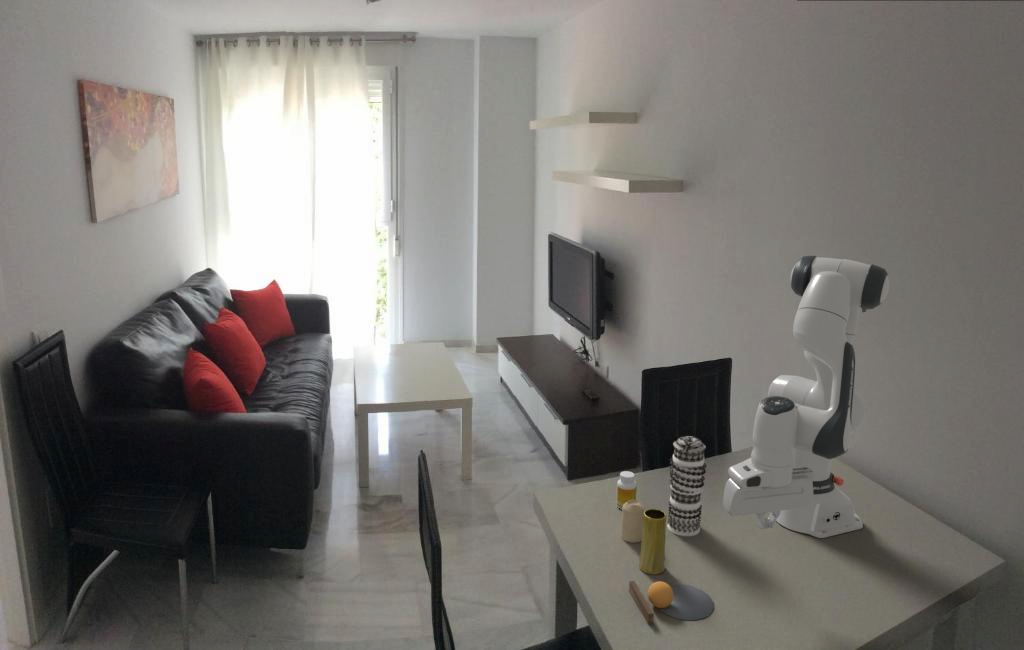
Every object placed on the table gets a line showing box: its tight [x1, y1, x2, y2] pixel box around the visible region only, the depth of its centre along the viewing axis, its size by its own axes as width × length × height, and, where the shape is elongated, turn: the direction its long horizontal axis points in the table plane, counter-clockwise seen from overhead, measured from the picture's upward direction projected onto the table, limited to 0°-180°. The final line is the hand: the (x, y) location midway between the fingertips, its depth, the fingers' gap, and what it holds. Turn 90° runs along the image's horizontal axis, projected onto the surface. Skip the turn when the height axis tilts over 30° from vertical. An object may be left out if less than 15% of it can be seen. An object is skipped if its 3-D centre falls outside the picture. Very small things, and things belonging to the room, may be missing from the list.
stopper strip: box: [628, 580, 655, 625], centre depth 164 cm, size 1×12×2 cm, turn 11°
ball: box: [647, 580, 673, 609], centre depth 164 cm, size 6×6×6 cm
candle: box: [620, 499, 645, 544], centre depth 191 cm, size 6×6×10 cm
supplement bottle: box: [615, 470, 638, 510], centre depth 207 cm, size 5×5×10 cm
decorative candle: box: [666, 435, 707, 537], centre depth 194 cm, size 9×9×25 cm
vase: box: [638, 508, 667, 575], centre depth 177 cm, size 6×6×14 cm
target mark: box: [658, 583, 715, 621], centre depth 166 cm, size 13×13×1 cm
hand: (765, 527), depth 167 cm, fingers closed
